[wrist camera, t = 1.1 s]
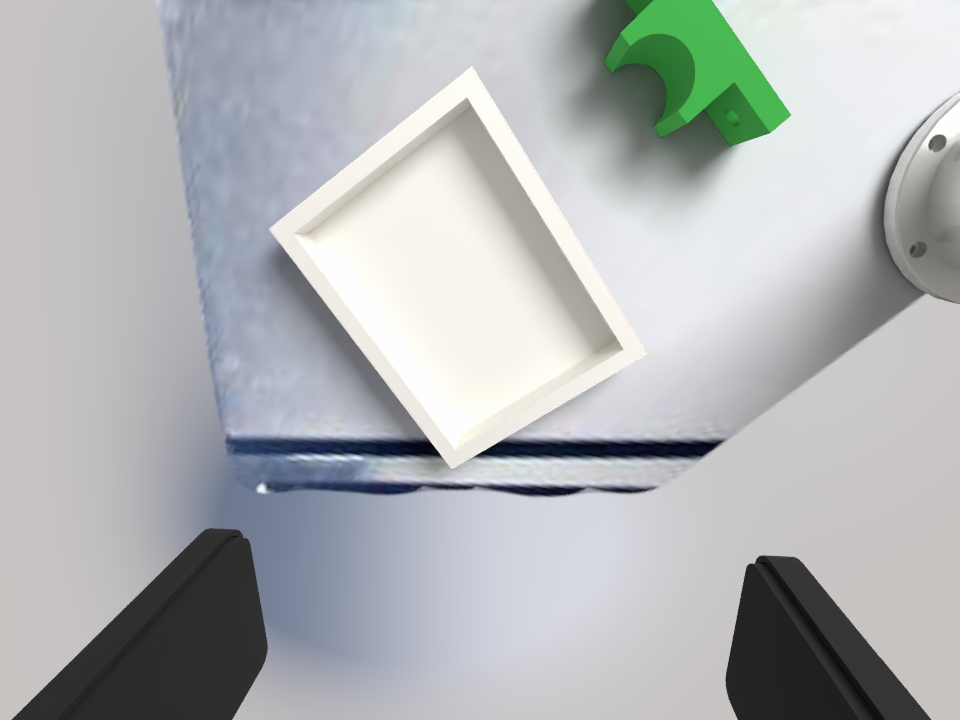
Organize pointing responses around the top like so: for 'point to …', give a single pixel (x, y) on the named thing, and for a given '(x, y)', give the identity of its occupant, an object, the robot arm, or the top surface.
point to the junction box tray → (459, 275)
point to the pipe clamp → (699, 68)
